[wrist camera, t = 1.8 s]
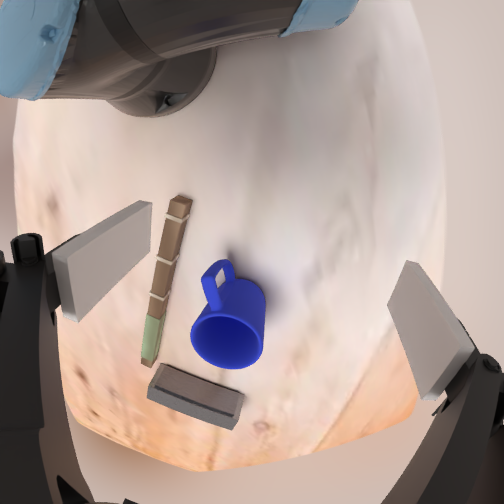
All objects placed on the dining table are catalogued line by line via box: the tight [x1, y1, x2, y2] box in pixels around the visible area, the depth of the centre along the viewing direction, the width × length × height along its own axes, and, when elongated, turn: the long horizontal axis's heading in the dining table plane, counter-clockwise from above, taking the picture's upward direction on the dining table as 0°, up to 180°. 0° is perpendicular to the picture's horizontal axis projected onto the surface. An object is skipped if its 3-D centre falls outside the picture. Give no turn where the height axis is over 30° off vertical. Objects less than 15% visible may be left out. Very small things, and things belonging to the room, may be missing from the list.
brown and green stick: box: [141, 196, 192, 368], centre depth 41 cm, size 2×30×3 cm, turn 161°
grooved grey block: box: [147, 363, 244, 430], centre depth 46 cm, size 16×5×6 cm, turn 71°
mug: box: [190, 259, 266, 369], centre depth 35 cm, size 8×12×10 cm
